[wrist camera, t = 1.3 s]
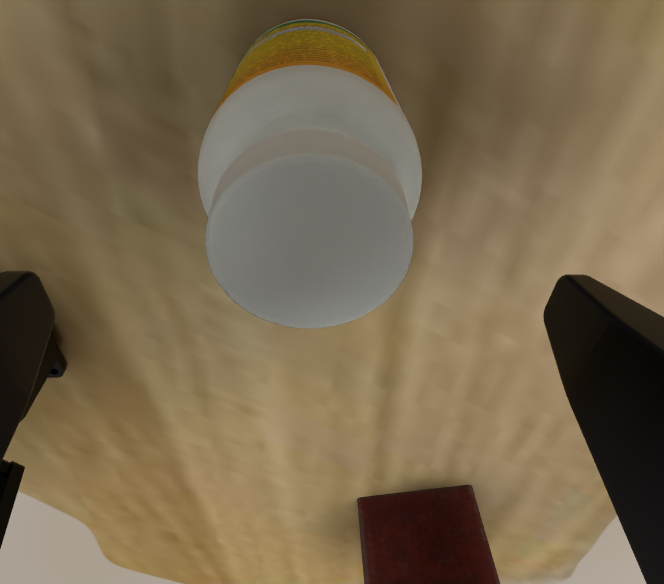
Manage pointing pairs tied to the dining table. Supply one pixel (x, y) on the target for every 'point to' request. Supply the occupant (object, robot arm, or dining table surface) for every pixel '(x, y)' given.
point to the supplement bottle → (309, 179)
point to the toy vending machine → (425, 538)
